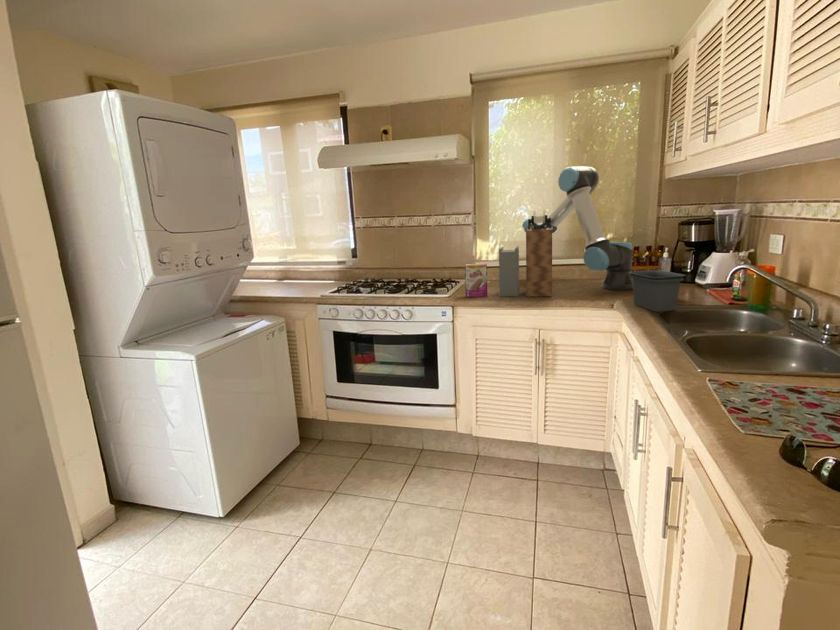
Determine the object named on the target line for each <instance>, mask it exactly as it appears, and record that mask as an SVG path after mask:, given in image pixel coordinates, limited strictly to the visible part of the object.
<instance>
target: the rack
mask: <svg viewBox="0 0 840 630" xmlns="http://www.w3.org/2000/svg"><path fill="white" fill-rule="evenodd" d="M498 272H499V273H498V279H499V285H498V286H499V297H519V293H520V246H516V247H515V249H504V246H501V247H499V249H498Z"/></svg>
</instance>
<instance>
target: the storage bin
mask: <svg viewBox="0 0 840 630" xmlns="http://www.w3.org/2000/svg"><path fill="white" fill-rule="evenodd" d="M629 273H630V274H631V275H630V277H631V278H633V289H632V290H633V292H632V293H633V304H634V305H635V306H638V307H640V308H643V309H647V310H648V311H649V310H650V311H653V312H656V313H658V312H672V311H676V310H677V305H678V296H679V292H680V286H681V285H680V284H681V282H683V281H684V278H683V277H685V276H686V274H682V273H677V272H672V271H666V270H661V269H660V270H659V269H647V270H646V269H645V270H634V271H633V270H631V272H629Z"/></svg>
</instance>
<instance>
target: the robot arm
mask: <svg viewBox="0 0 840 630" xmlns="http://www.w3.org/2000/svg"><path fill="white" fill-rule="evenodd" d="M599 179H600V176H599V173H598V171H597V170H596V169H595V168H594V167H592V166H575V165H574V166H573V165H572V166H568V167H565V168H564V169H563V170H562V171H561V172H560V174H559V177H558V181H557V183H558V187H559V189H560V190H561V191H563V192H566V197H565V198H563V200H562V201H560V203H559V204H558V205H557V207H556V208H555V209H554V210H553V211H552V212H551V213H550V215H549V216H548V215H547V214H546V211H545V210H543V211H542V212H543V214H542V215H543V223H534V217H535V216H536V211H535V210H533V215H531V217H529V218H527V219H525V220H524V221H523V222H522V224H521V225H522V228H523V230H524V233H526V230H527V229H532V226H534V229H545V226H546V229H548V228H552V233H553V234H555V233H554V232H555V231H556V230H557V226H558V225H560V224H561V223H562V222H563V221H565V219H566V218H567V217H568V216H569V214H570V213H572V211H573V210H575V213H576V215H577V218H578V219H577V220H578V222H579V224H580V228H581V231H582V233H583V235H584V239H585V243H586V244H585V247H584V252H583V263H584V264H585V266H586V268H588V269H589V270H591V271H594V272H597V271H600V272H601V271H602V272H603V271H604V270H605V271H606V273H605V275H604V278H603V281H602V285H601V287H602V288H603V289H605V290H614V291H617V290H618V291H619V290H620V291H624V290H625V291H627V290H633V278H631V277H630V275H631V274H630V273H629V272H631V271H632V265H633V252H634V250H633V244H632V243H631V242H624V241H623V242H622V241H610V239H609V238H607V237H605V234H604V232H603V228H602V226H601V223H600V221H599V220H600V219H599V217H598V214H597V211H596V209H595V206H594V203H593V200H592V197H591V194H592V192H594V191H595V189H596V188H597V186H598V184H599V181H600V180H599Z"/></svg>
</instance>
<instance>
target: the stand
mask: <svg viewBox="0 0 840 630" xmlns="http://www.w3.org/2000/svg"><path fill="white" fill-rule="evenodd" d="M525 261H526V262H525V267H526V268H525V275H526V278H525V280H526V281H525V282H526V283H525V284H526V285H525V287H526V288H525V289H526V297H527V296H552V297H553V234H552V228H548V229H546V226H545V229H534V226H532V229H527V230H526V232H525ZM527 298H528V297H527Z"/></svg>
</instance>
